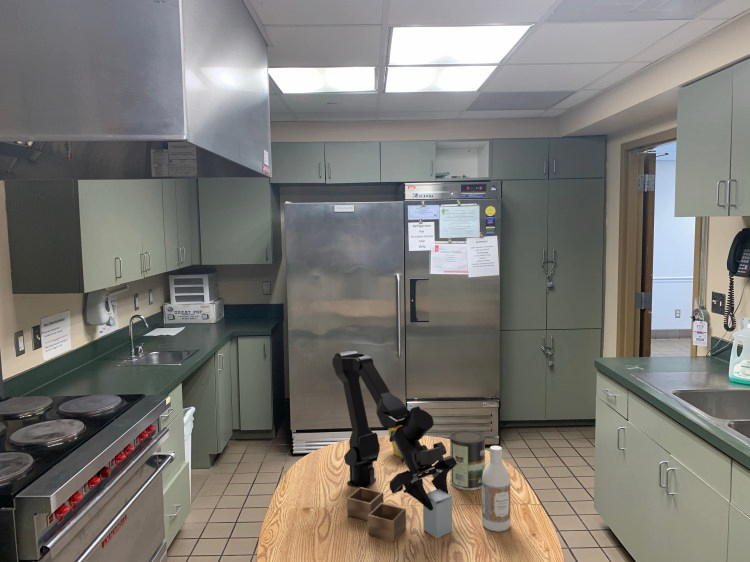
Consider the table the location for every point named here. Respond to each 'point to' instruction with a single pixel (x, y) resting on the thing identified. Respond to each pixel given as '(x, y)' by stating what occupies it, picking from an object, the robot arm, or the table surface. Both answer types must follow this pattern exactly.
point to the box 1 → (363, 503)
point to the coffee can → (467, 459)
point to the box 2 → (387, 522)
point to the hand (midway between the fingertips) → (440, 506)
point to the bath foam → (496, 493)
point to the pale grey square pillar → (438, 514)
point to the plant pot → (395, 448)
